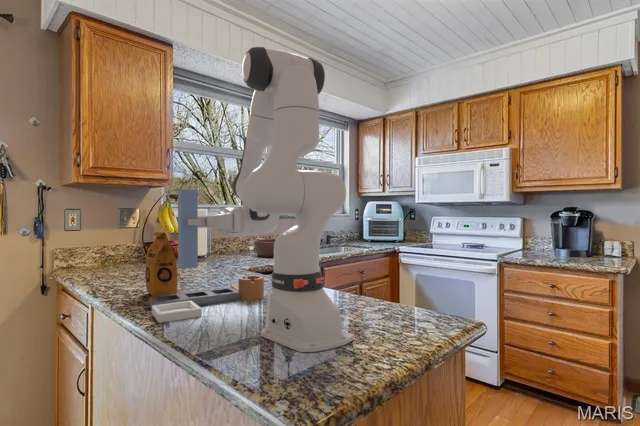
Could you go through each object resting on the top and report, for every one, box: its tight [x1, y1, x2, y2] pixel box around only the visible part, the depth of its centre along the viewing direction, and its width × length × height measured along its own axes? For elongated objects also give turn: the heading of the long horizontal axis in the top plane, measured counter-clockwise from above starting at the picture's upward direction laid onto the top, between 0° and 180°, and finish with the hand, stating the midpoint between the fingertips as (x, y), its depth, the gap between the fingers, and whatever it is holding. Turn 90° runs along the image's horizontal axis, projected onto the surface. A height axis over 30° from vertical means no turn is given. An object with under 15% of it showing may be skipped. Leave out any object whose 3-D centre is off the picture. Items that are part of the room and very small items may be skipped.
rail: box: [149, 287, 242, 309], centre depth 116 cm, size 9×26×2 cm, turn 124°
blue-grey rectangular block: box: [177, 189, 199, 270], centre depth 109 cm, size 5×5×23 cm
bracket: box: [230, 275, 265, 302], centre depth 127 cm, size 18×8×7 cm, turn 28°
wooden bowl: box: [254, 238, 276, 258], centre depth 242 cm, size 25×25×10 cm
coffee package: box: [144, 230, 179, 297], centre depth 127 cm, size 10×12×22 cm
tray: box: [151, 301, 203, 324], centre depth 102 cm, size 11×11×2 cm
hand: (184, 222), depth 108 cm, fingers closed on blue-grey rectangular block, 5 cm apart
